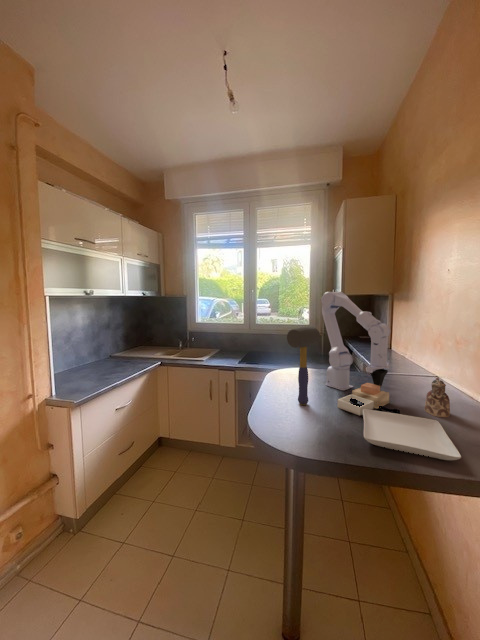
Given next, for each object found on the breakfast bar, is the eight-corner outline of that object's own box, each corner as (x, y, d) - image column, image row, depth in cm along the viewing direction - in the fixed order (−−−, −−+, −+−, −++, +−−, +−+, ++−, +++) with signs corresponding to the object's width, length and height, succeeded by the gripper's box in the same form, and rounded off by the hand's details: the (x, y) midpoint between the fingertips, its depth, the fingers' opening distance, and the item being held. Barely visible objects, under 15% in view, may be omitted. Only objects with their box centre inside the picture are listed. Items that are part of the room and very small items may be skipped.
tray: (337, 407, 96) (337, 399, 96) (351, 401, 101) (351, 394, 101) (359, 415, 89) (360, 407, 88) (373, 409, 94) (373, 401, 94)
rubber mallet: (305, 397, 106) (305, 325, 103) (320, 403, 100) (322, 326, 98) (284, 405, 98) (285, 327, 96) (300, 411, 92) (301, 329, 90)
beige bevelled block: (351, 400, 102) (352, 390, 102) (363, 395, 107) (364, 385, 107) (377, 408, 94) (377, 398, 94) (389, 402, 99) (389, 392, 99)
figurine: (423, 413, 90) (424, 380, 89) (425, 406, 95) (426, 375, 95) (449, 419, 85) (451, 384, 85) (449, 411, 91) (451, 378, 90)
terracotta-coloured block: (360, 391, 101) (361, 385, 101) (367, 388, 104) (367, 382, 104) (373, 394, 97) (373, 388, 97) (380, 392, 100) (380, 385, 100)
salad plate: (437, 429, 80) (437, 418, 79) (462, 470, 60) (463, 456, 60) (362, 417, 89) (362, 407, 88) (363, 450, 69) (363, 437, 69)
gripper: (379, 358, 95) (378, 393, 96) (397, 353, 104) (396, 386, 105) (361, 355, 101) (360, 388, 102) (380, 350, 109) (379, 381, 110)
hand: (377, 387), depth 104 cm, fingers closed
